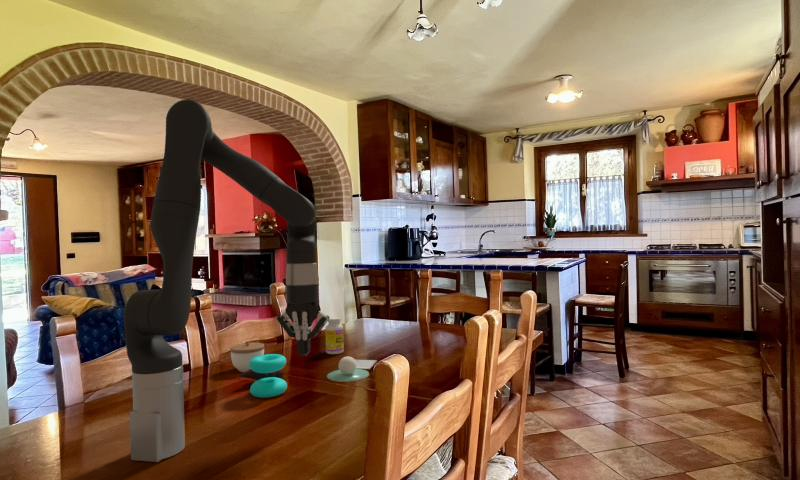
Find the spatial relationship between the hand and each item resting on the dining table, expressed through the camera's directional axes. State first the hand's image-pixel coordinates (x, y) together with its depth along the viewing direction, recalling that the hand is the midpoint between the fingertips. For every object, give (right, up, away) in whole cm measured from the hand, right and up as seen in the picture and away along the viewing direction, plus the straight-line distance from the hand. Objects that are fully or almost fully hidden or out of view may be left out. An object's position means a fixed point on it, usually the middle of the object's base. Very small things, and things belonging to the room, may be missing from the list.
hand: (304, 355), depth 110 cm
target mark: (+7, -15, +34) cm, 38 cm away
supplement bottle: (-1, -15, +63) cm, 65 cm away
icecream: (-18, -16, +29) cm, 38 cm away
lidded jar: (-28, -16, +44) cm, 54 cm away
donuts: (-14, -16, +20) cm, 29 cm away
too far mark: (+9, -15, +46) cm, 49 cm away
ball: (+6, -12, +35) cm, 37 cm away
